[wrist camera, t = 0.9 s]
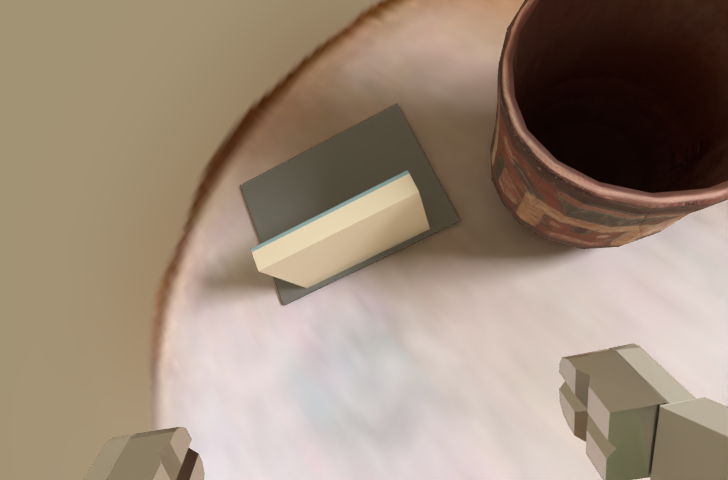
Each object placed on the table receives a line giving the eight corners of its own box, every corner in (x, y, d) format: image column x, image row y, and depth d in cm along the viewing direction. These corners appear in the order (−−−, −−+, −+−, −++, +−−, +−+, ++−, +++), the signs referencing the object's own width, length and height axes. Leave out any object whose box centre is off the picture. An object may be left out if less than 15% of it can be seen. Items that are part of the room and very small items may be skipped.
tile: (421, 211, 43) (407, 170, 33) (429, 228, 42) (418, 191, 32) (300, 271, 44) (250, 249, 34) (307, 288, 44) (258, 271, 33)
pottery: (711, 247, 37) (924, 165, 20) (504, 279, 40) (534, 232, 23) (650, 74, 41) (779, -113, 24) (469, 115, 45) (472, -25, 28)
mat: (397, 105, 47) (397, 103, 46) (459, 221, 42) (459, 220, 42) (241, 186, 49) (240, 185, 49) (285, 305, 44) (283, 304, 44)
